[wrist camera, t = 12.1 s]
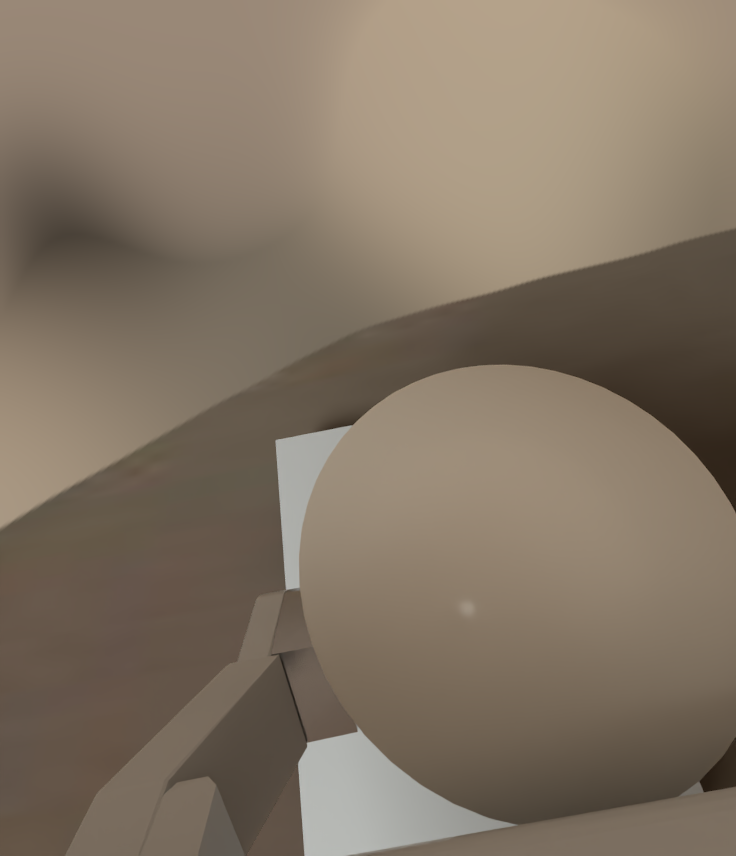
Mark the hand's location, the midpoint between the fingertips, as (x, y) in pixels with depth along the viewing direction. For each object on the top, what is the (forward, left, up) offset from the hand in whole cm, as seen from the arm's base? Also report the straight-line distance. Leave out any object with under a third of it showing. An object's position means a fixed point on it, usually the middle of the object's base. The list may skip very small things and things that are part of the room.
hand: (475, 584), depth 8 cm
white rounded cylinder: (0, 0, -5) cm, 5 cm away
